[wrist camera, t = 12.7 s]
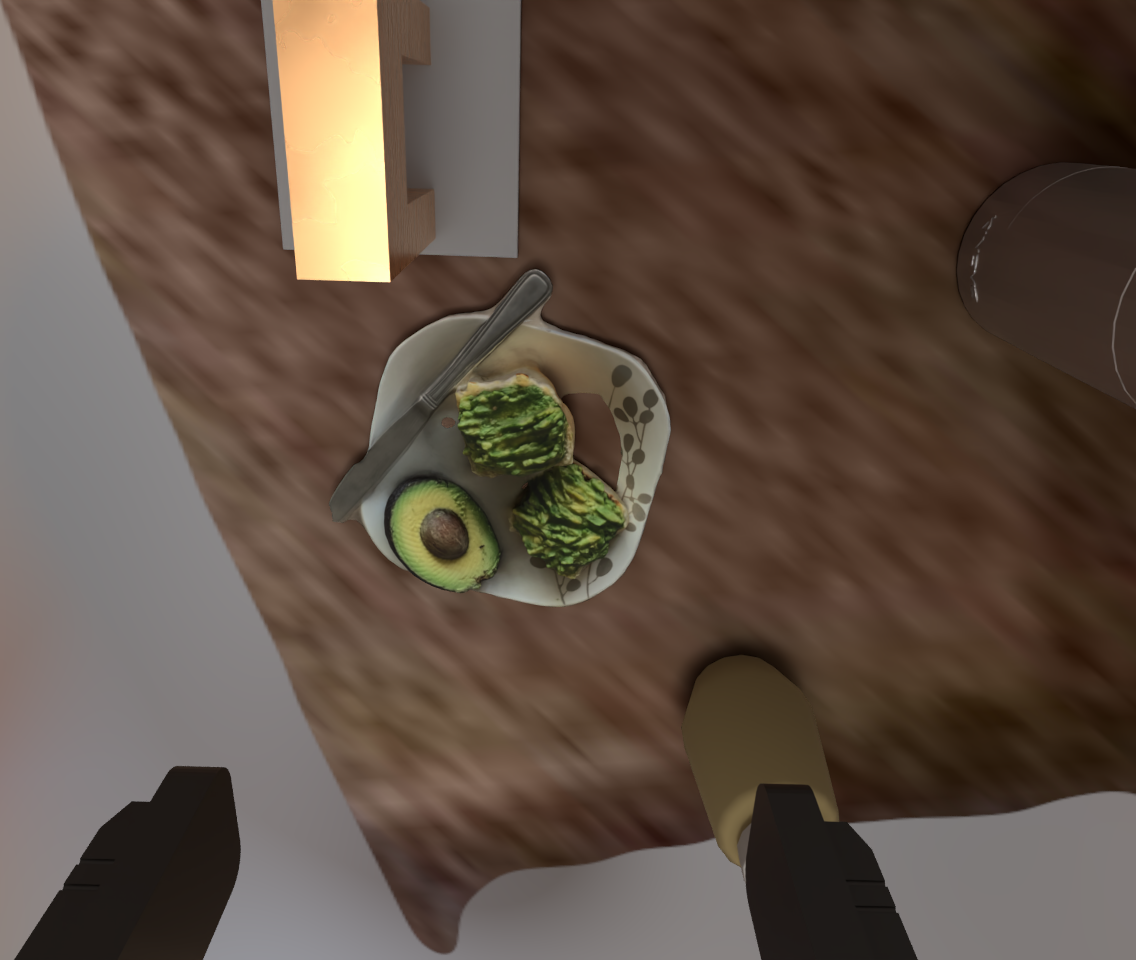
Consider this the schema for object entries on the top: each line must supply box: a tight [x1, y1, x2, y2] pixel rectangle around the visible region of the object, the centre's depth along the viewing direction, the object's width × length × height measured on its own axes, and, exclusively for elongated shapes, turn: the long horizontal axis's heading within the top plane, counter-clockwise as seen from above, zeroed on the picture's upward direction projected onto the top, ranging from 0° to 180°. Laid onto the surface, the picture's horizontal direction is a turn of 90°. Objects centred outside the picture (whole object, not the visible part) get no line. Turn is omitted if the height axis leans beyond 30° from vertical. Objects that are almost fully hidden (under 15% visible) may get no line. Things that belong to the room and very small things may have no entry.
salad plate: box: [329, 269, 671, 607], centre depth 47 cm, size 19×18×5 cm
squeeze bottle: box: [681, 655, 839, 882], centre depth 48 cm, size 8×8×18 cm
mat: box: [261, 0, 521, 258], centre depth 43 cm, size 12×12×1 cm
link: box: [273, 0, 436, 282], centre depth 37 cm, size 4×10×12 cm, turn 178°
